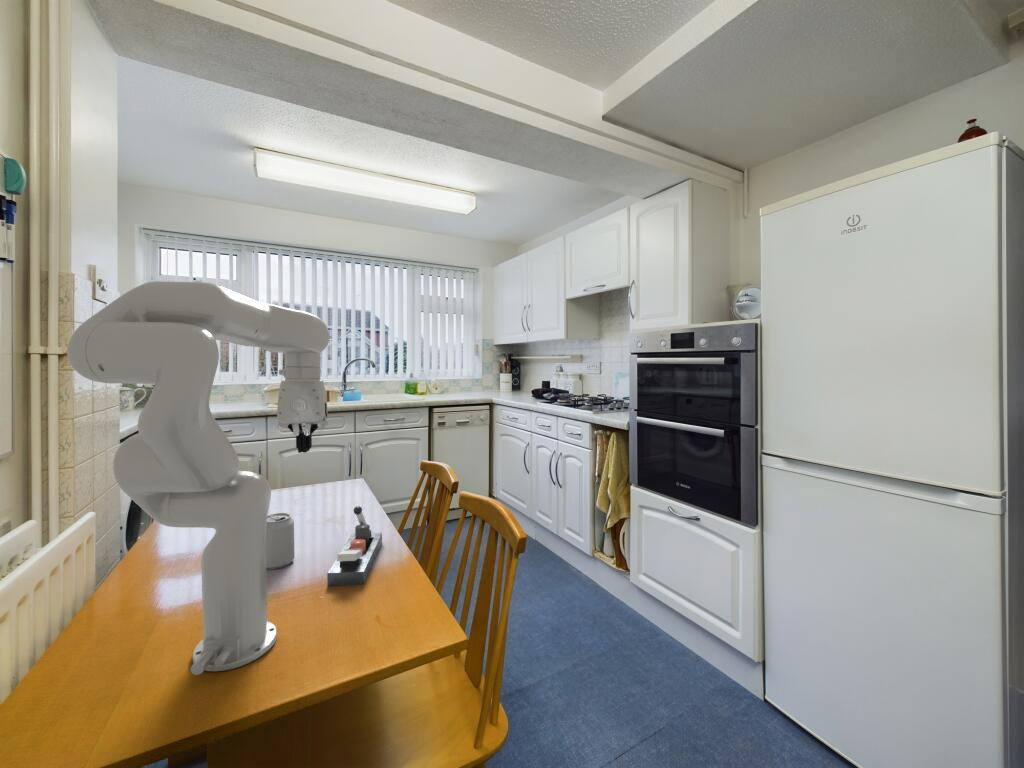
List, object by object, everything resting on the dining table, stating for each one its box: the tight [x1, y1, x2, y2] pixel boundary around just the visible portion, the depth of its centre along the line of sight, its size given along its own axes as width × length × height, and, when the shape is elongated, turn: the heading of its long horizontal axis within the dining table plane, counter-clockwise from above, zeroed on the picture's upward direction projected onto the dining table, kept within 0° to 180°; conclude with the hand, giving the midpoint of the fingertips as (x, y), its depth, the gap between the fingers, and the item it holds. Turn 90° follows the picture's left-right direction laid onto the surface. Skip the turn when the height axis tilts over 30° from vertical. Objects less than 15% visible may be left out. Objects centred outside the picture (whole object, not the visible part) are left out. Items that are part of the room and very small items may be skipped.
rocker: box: [336, 549, 363, 561], centre depth 102 cm, size 7×4×2 cm, turn 6°
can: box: [266, 512, 295, 570], centre depth 108 cm, size 8×8×12 cm
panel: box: [326, 529, 383, 587], centre depth 109 cm, size 22×8×4 cm, turn 6°
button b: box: [354, 523, 371, 546], centre depth 115 cm, size 4×4×4 cm
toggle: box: [353, 505, 367, 525], centre depth 118 cm, size 2×2×7 cm
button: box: [350, 539, 367, 554], centre depth 110 cm, size 4×4×4 cm
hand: (304, 451), depth 103 cm, fingers closed
